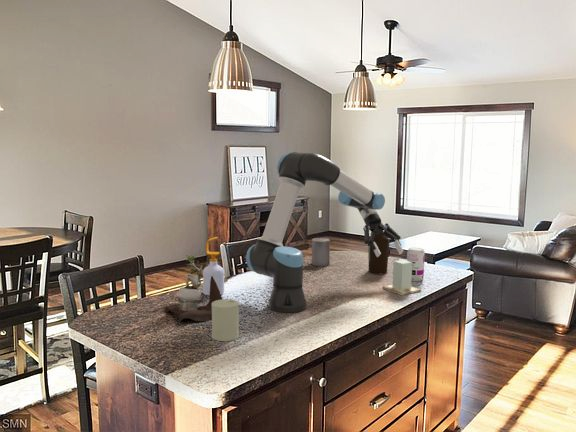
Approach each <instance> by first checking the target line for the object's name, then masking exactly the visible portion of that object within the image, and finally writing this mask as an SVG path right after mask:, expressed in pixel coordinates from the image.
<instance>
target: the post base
mask: <svg viewBox="0 0 576 432" xmlns="http://www.w3.org/2000/svg"><path fill="white" fill-rule="evenodd" d="M392 286H393V284H389V285H383V286H382V289H384V290H386V291H388V292H391V293H393V292H394V294H396V293H397V294H396V295H400V296H404V294H405V295H410V294H409V293H411V294H415V293H414V292H416V293H421V292H422V289H421V288H417V287H416V286H412V285H411V289H406V290H399V289H396V288H394V287H392ZM420 291H421V292H420Z"/></svg>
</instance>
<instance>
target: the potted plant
mask: <svg viewBox="0 0 576 432" xmlns="http://www.w3.org/2000/svg"><path fill="white" fill-rule="evenodd" d="M186 257H187V258H185V261H186V262H187V261H188V263H185V266H187V268H188V269H189V268H190V269H189V271H190V273H187V274H186V276H185V277H186V281H185V285H186V286H184V287H183V286H181V287H179V290H178V292H177V296H176V299H177V300H178V301H179V304H178V303H174V304H170V305H167V306H165V307H164V311H165V313H166V314H167V313H169V311H170V313H171V314H173V316H174V318H175V320H178V321H177V323H178V324H180V323H181V322H182V321H183V320H184V319H190V320H191V321H195V322H209V321H210V320H212V302H214V301H216V300H222V299H223V297H222V294H220V291H219V289H218V286H217V284H216V282H215V280H214V278H213V276H211V280H210V296H209V298H208V303H207V304H205V305H199V303H200V302H201V301H202V299H201V296H202V293H201V291H202V289H198V288H199V287H200V285H201V284H202V281H201V279H202V278H203V277H204V276H203V268H205V267H208V266H209V264H208V265H207V263H206V262H201V263H202V264H201V265H200V267H199V268H198V267H197V266H196V265H199V264H200V261H199V260H196V263H195V259H196V258H197V257H196V256H194V255H190V254H186ZM195 273H196V274H195ZM194 274H195V275H194ZM189 282H190V284H191V285H192V286H190V285H189Z"/></svg>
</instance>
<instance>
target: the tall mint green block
mask: <svg viewBox="0 0 576 432" xmlns="http://www.w3.org/2000/svg"><path fill="white" fill-rule="evenodd" d="M392 263H393V268H392V269H393V270H392V285H393V286H392V287H394V288H396V289H399V290H406V289H411V286H412V281H411V280H412V262H409V261H407V259H406V260H405V259H401V260H399V259H398V260H394V261H393V262H392Z"/></svg>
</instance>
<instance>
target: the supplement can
mask: <svg viewBox="0 0 576 432" xmlns="http://www.w3.org/2000/svg"><path fill="white" fill-rule="evenodd" d="M425 256H426V252H425V251H424V248H421V247H409V248H408V250H407V252H406V261H409V262H412V280H411V282H412V281H413V282H421V280H422V281H423V280H424V276H425V275H424V274H425V258H426V257H425Z"/></svg>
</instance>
